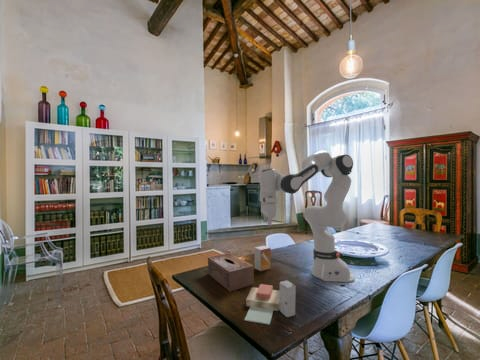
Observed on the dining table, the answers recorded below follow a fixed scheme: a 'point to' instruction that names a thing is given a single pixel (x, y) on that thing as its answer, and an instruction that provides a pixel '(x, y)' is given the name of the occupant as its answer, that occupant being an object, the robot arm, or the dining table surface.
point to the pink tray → (264, 291)
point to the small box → (262, 258)
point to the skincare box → (287, 298)
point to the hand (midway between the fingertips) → (267, 223)
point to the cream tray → (263, 300)
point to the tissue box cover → (231, 271)
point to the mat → (259, 315)
